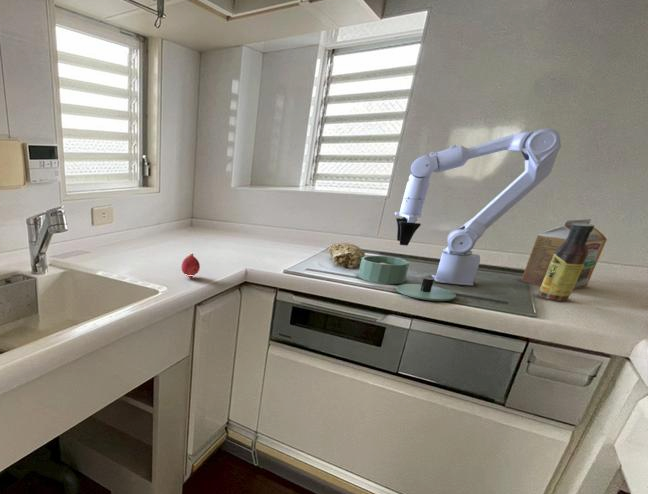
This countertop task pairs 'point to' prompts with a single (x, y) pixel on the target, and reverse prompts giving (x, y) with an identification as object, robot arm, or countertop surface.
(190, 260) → the onion
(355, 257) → the tan brown irregular lump
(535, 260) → the milk carton
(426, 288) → the bin lid
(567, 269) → the sauce bottle
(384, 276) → the green faceted bin
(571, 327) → the countertop surface
